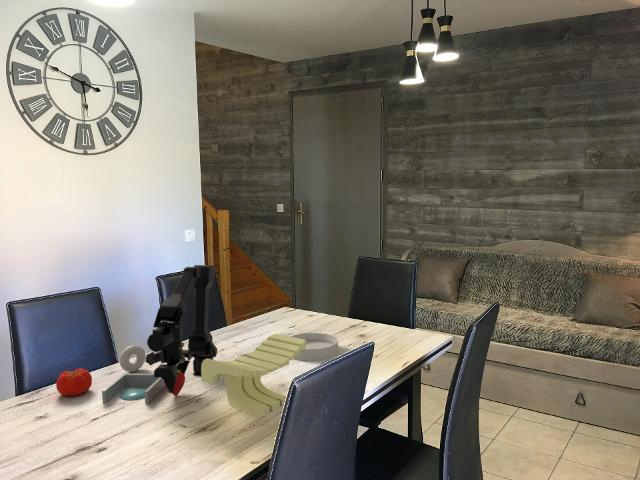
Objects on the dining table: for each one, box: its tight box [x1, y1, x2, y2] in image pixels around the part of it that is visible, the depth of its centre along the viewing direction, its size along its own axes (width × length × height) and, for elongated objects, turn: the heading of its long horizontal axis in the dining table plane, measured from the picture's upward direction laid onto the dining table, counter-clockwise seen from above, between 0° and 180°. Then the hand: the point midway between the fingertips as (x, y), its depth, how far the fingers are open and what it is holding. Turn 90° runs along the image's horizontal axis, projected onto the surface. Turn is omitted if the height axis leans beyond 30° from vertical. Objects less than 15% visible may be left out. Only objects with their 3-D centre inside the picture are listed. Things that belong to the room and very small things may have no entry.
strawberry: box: [164, 370, 186, 397], centre depth 168 cm, size 6×8×10 cm
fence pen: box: [101, 373, 166, 405], centre depth 171 cm, size 15×15×4 cm
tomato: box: [55, 368, 93, 397], centre depth 172 cm, size 11×11×8 cm
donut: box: [119, 344, 147, 373], centre depth 191 cm, size 10×4×10 cm, turn 138°
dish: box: [289, 332, 340, 362], centre depth 209 cm, size 22×22×5 cm
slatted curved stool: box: [201, 333, 306, 418], centre depth 161 cm, size 30×16×18 cm, turn 143°
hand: (175, 388), depth 168 cm, fingers closed on strawberry, 7 cm apart
